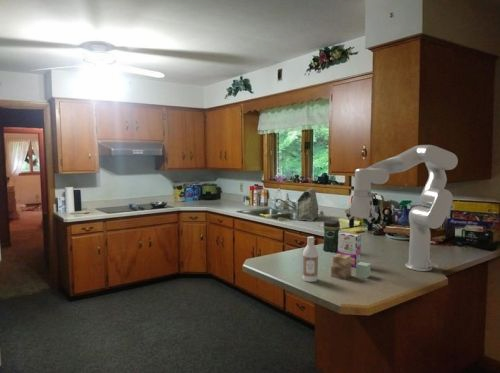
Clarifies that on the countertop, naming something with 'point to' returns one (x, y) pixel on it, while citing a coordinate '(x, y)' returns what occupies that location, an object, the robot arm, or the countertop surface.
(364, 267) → the sage block
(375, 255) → the countertop surface
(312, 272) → the bath foam
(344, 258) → the oak top
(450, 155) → the robot arm
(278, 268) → the countertop surface
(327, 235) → the coffee jar
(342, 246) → the candy bar box
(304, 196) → the bag
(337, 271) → the walnut base
